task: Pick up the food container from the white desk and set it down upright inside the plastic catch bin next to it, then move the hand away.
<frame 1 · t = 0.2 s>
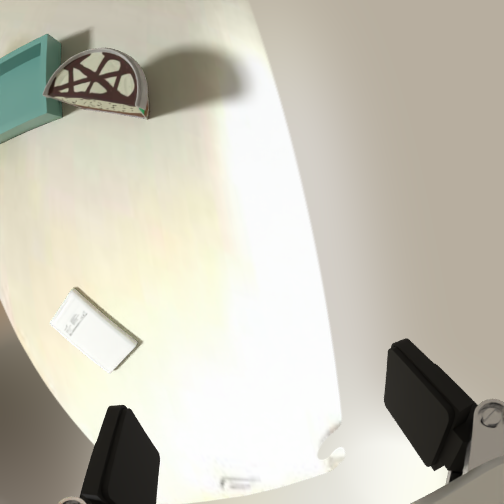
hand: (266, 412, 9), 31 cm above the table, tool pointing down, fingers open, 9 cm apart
catch bin: (12, 100, 29), on the table
food container: (122, 92, 32), on the table
external hard drive: (93, 329, 41), on the table
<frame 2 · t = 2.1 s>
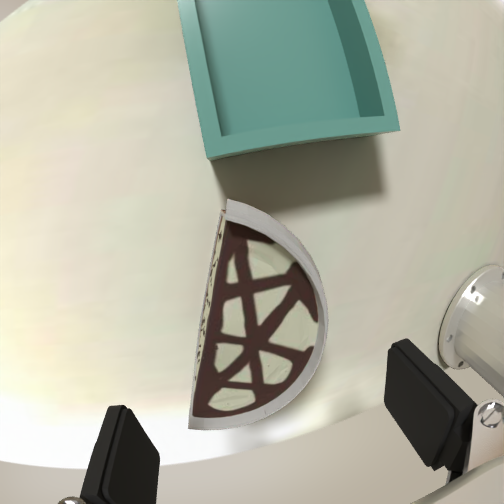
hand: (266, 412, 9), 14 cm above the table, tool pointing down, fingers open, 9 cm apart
catch bin: (269, 33, 18), on the table
food container: (249, 278, 23), on the table
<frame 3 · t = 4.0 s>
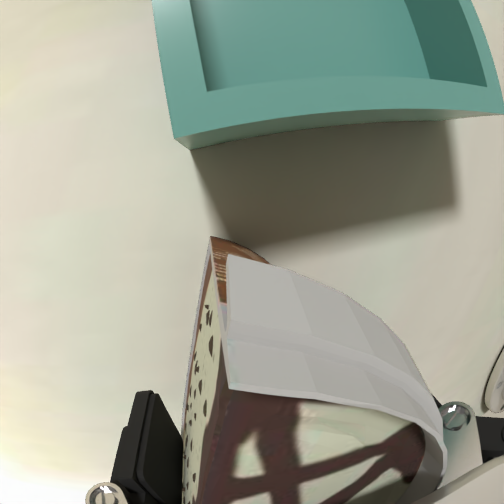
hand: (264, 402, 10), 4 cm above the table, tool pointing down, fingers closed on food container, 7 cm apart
food container: (258, 343, 14), on the table, touching gripper
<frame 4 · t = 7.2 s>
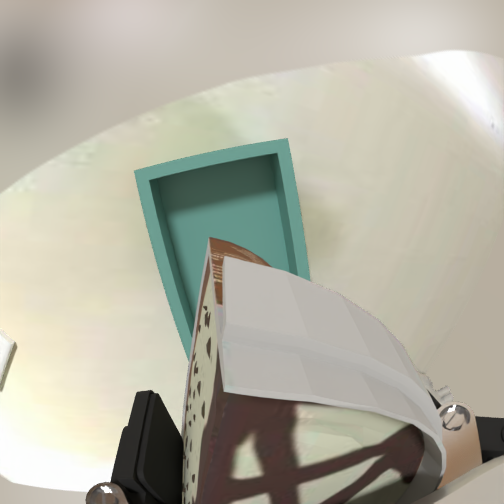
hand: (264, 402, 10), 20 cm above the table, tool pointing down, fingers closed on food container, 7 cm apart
catch bin: (230, 250, 29), on the table
food container: (258, 343, 14), point 16 cm above the table, touching gripper
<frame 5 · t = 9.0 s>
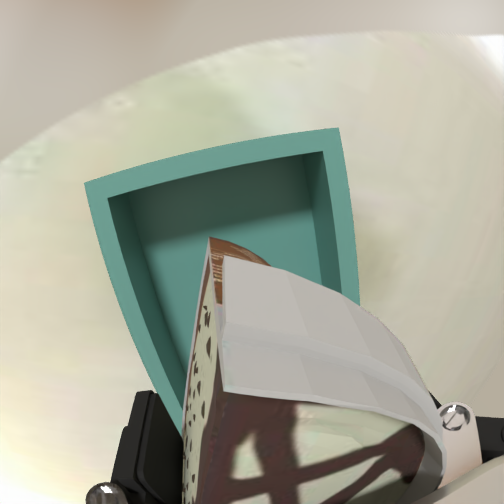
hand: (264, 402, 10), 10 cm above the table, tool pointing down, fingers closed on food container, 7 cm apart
catch bin: (241, 296, 19), on the table
food container: (258, 343, 14), point 6 cm above the table, touching gripper
when the fingers open (7 cm above the table, at t = 10.6 s): food container drops 2 cm, resting on catch bin.
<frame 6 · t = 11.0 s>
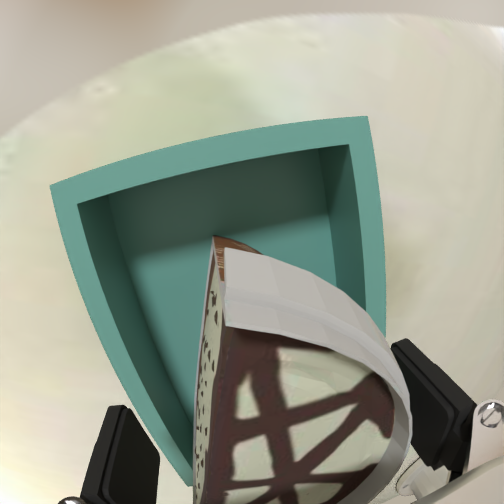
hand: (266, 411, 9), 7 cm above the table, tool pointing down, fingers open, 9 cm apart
catch bin: (244, 317, 16), on the table
food container: (259, 328, 16), point 1 cm above the table, touching catch bin
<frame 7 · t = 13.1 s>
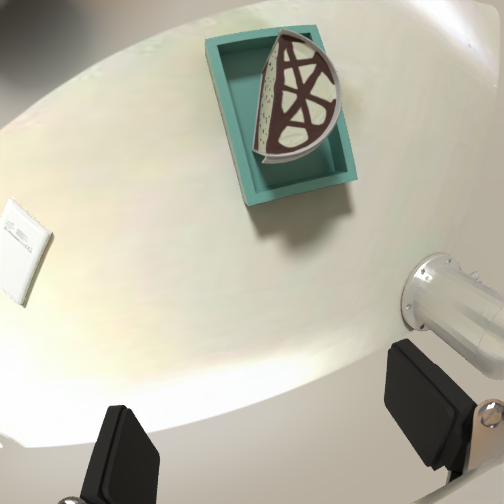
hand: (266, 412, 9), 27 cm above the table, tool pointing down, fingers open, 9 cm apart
catch bin: (275, 113, 32), on the table
food container: (283, 114, 31), point 1 cm above the table, touching catch bin
external hard drive: (18, 250, 32), on the table
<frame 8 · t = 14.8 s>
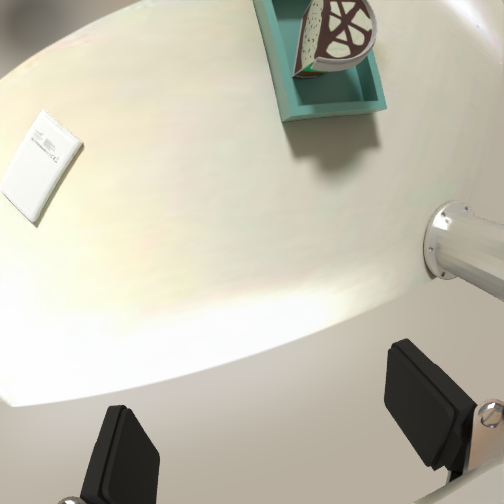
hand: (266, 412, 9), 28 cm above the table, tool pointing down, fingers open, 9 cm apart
catch bin: (312, 51, 32), on the table
food container: (320, 52, 31), point 1 cm above the table, touching catch bin
external hard drive: (41, 165, 32), on the table
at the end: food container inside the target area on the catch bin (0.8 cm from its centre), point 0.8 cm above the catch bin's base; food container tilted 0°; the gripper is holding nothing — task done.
